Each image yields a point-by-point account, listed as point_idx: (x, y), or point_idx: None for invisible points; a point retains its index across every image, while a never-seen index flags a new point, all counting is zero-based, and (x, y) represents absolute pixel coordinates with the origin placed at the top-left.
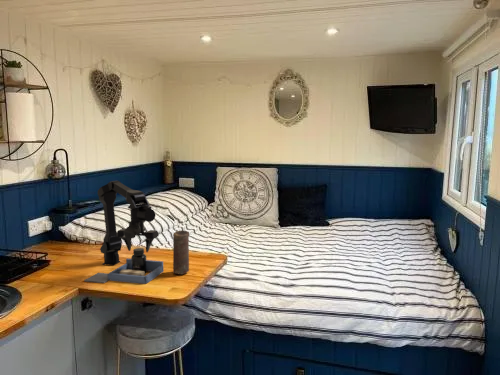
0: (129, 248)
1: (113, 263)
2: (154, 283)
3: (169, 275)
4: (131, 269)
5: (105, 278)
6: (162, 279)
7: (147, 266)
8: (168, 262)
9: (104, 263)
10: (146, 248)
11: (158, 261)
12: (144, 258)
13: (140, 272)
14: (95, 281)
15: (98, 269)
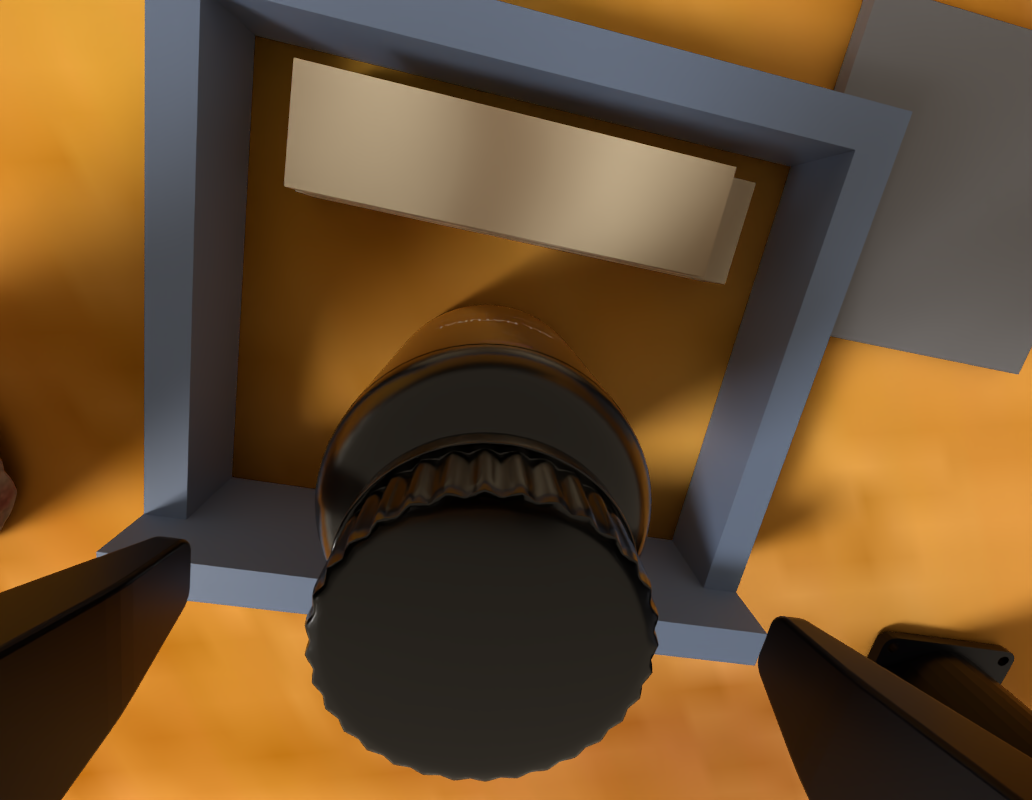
0: (818, 678)
1: (893, 668)
2: (91, 4)
3: (34, 363)
4: None
5: None
6: (53, 194)
7: None
8: (278, 778)
9: (992, 662)
10: (41, 603)
11: None
12: (326, 454)
13: (334, 111)
14: (1002, 23)
15: (1021, 511)
